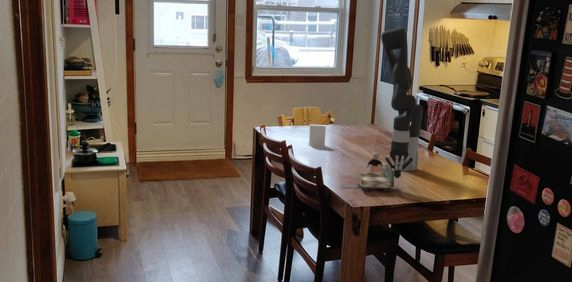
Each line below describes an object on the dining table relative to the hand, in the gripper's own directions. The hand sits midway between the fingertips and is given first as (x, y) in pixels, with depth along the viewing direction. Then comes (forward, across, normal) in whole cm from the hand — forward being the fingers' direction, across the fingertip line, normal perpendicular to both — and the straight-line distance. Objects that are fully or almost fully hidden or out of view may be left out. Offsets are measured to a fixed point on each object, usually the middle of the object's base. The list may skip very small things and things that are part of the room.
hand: (396, 177), depth 262 cm
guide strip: (+5, +12, 0) cm, 13 cm away
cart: (+5, +10, 0) cm, 11 cm away
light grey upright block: (+5, +27, -77) cm, 82 cm away
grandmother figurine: (+5, +7, -15) cm, 17 cm away
